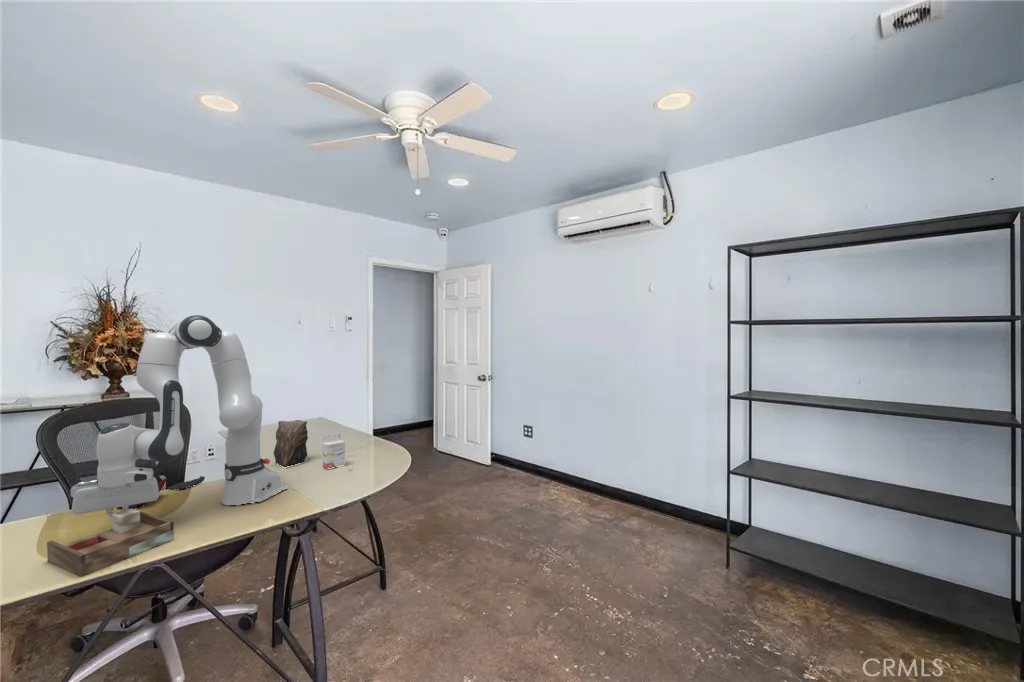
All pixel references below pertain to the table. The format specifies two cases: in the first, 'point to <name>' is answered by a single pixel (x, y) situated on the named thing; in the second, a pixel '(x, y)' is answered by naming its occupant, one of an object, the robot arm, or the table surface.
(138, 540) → the box
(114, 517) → the gray block
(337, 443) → the ink cartridge box
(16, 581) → the table surface
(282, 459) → the owl
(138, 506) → the handheld game console
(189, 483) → the fan shaped piece
